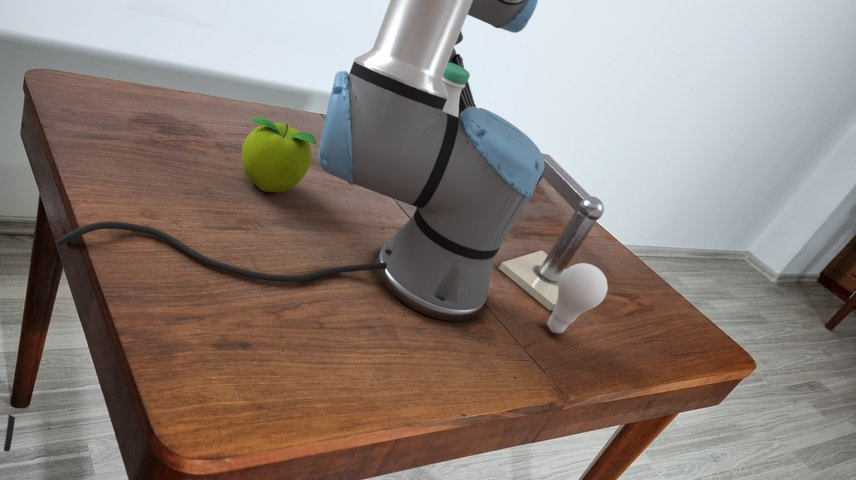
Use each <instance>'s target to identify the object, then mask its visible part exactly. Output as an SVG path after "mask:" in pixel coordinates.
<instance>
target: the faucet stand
mask: <svg viewBox="0 0 856 480" xmlns="http://www.w3.org/2000/svg"><path fill="white" fill-rule="evenodd" d="M547 256H548V253H546V252H545V251H544V250H542V249H540V250H538V251H534V252H531V253H529V254H525V255H522V256H518V257H515V258H512V259H509V260H504V261H502V262H501V263H500V265H499V267H498V270H499V271H501V272H502V273H503V274H504V275H506V276H507V277H508V278H509V279H511V280H512V281H513V282H514V283H515V284H517V285H518V286H519V287H520V288H522V290H524V291H525V292H526V293H528V295H530V296H531V297H532V298H534V299H535V301H537V302H539V303H540V305H542V306H543V307H545V309H547V310H548V311H553V308H554V306H555V304H556V302H557V299H558V287H559V280H560V277H561V276H560V277H559V279H558V280H557V281H551V280H548V279H546V278H545V277H543V276H542V275H541V274H540V272H539V268H540V267H541V265H542V264H543V262H544V260H545V259H546V257H547ZM566 269H567V268H565V270H566ZM565 270H564V271H565ZM564 271H563V272H564ZM562 274H563V273H562ZM562 274H561V275H562Z"/></svg>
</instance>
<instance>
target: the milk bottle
mask: <svg viewBox="0 0 856 480" xmlns="http://www.w3.org/2000/svg"><path fill="white" fill-rule="evenodd" d="M470 76H471V74H470V72H469V71H468V70H467V69H466V68H465V67H464V68H462V67H461V66H459V65H456V64H454V63H450V62H448V63H447V66H446V68H445V71H444V73H443V77H442V79H443V83H444V85H445V88H446V91H447V93H448V98H447V101H446V103H445V106H444V108H443V111H444V112H446V113H448V114H451V115H453V116H456V117H458V115H459V98H460V93H461V90H462V88H464V87H465V84H466V83H467V81H468V82H469V79H470Z"/></svg>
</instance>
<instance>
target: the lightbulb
mask: <svg viewBox="0 0 856 480" xmlns="http://www.w3.org/2000/svg"><path fill="white" fill-rule="evenodd" d="M565 269H566V270H565V271H564V272H563V274H562V275H561V277H560V280H559V287H558V299H557V302H556V304H555V306H554V308H553V310H551V311H552V313H551V314H550V316H549V317H548V320H547V322H546V325H547V327H548V328H549V331H550V332H551V333H553V334H563V333H564V332H565V331H566V330H567V329H568V327H569V326H570V324H573V323H574V322H575V321H576V319H577V318H579V316H580V315H582V314H584V313H585V312H587V311H590V310H593V309H594V308H596V307H598V306H599V305H600V304H601V303H603V301H604V300H605V299H606V296H607V294H608V280H607V278H606V276H605V274H604V273H603V271H602V270H601V269H600V268H599V267H597V266H595V265H593V264H590V263H584V262H580V263H575V264H573V265H571V266H569V267H567V268H565Z"/></svg>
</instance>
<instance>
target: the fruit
mask: <svg viewBox="0 0 856 480" xmlns="http://www.w3.org/2000/svg"><path fill="white" fill-rule="evenodd" d="M250 121H251V122H254V123H256V124H258V125H259V126H257V127H255V128H254V129H253V130H252V131H251V132H249V134H248V136H247V137H246V138H245V140H244V141H243V145H242V148H241V159H240V160H241V165H242V168H243V171H244V173H245V175H246V178H248V180H249V181H250V182H251V183H252V184H253V185H255V186H256V187H258V189H259V190H261V191H263V192H265V193H266V192H268V193H283V192H286V191H288V190H291V189H292V188H294V187H296V186H297V185H298V184H299V183H300V182H301V181H302V180H303V179H304V177H305V176H306V174H307V173H308V170H309V169H310V166H311V163H312V156H313V155H312V148H311V145H310V144H313V145H315V146H317V140H316V139H315V136H314V135H313V134H311V132H307V131H301V130H299V129H297V128H295V127H294V128H293V127H291V126H290V125H289V123H288V122H287V123H284V122H273V121H272V120H270V119H268V118H266V117H262V116H261V117H260V116H256V117H251V118H250Z"/></svg>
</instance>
